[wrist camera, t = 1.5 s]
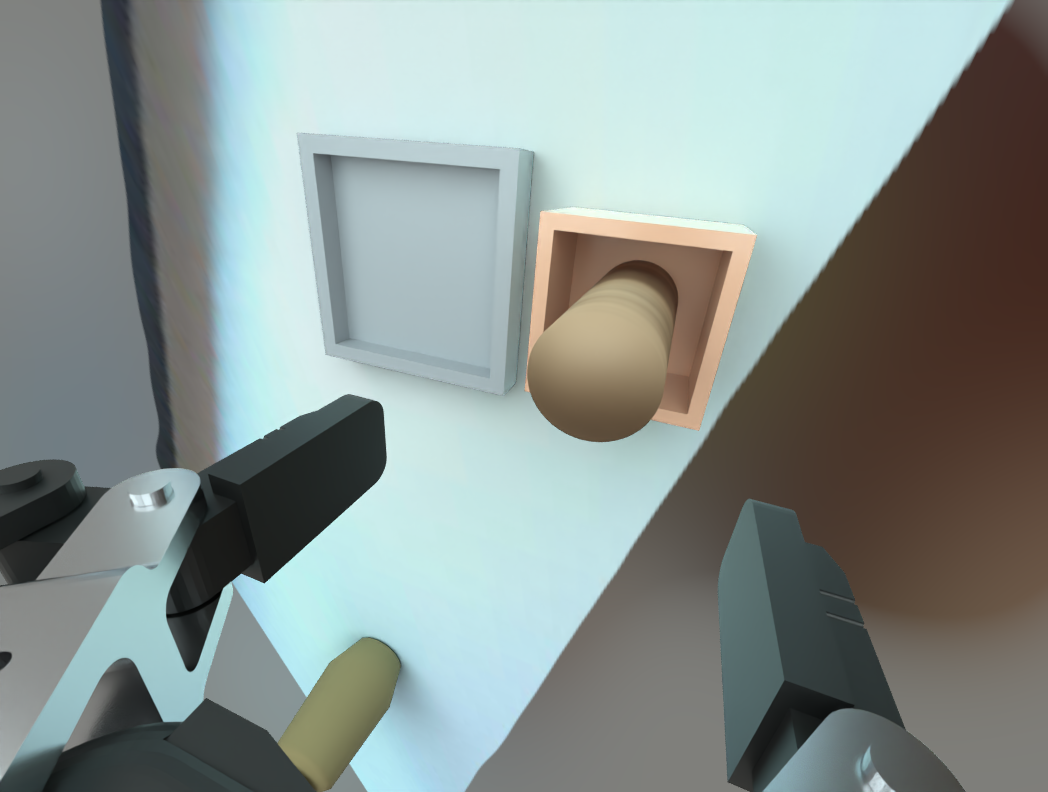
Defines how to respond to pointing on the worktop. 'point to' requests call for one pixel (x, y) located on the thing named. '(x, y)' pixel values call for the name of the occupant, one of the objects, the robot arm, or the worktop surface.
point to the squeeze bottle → (341, 712)
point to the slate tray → (420, 254)
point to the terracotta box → (679, 248)
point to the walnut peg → (607, 355)
